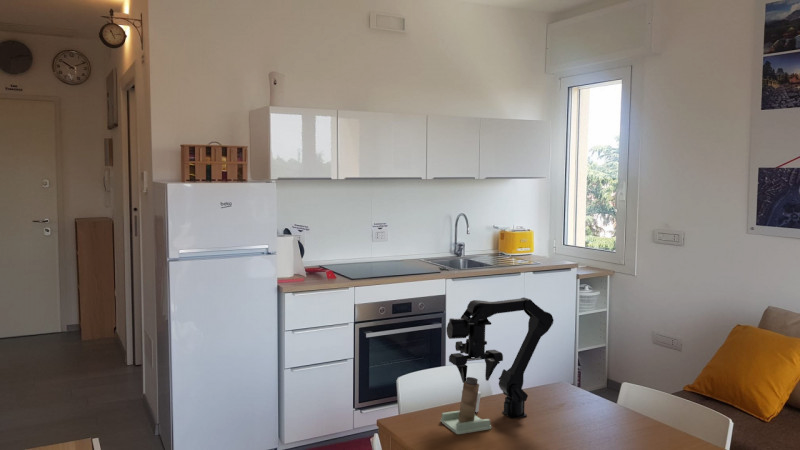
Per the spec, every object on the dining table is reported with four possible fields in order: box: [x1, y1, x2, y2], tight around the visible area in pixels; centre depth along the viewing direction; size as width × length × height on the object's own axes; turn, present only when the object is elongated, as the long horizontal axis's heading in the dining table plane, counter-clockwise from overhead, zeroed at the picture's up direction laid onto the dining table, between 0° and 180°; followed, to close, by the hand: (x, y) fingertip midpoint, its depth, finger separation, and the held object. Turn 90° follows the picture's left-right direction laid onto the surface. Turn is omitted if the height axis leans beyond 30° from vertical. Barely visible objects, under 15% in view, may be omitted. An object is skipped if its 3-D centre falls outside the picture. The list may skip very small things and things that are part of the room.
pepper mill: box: [459, 376, 480, 423], centre depth 207 cm, size 5×5×15 cm
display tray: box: [439, 409, 493, 435], centre depth 207 cm, size 13×12×3 cm
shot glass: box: [461, 389, 482, 413], centre depth 222 cm, size 7×7×7 cm
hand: (475, 381), depth 213 cm, fingers open, 9 cm apart
